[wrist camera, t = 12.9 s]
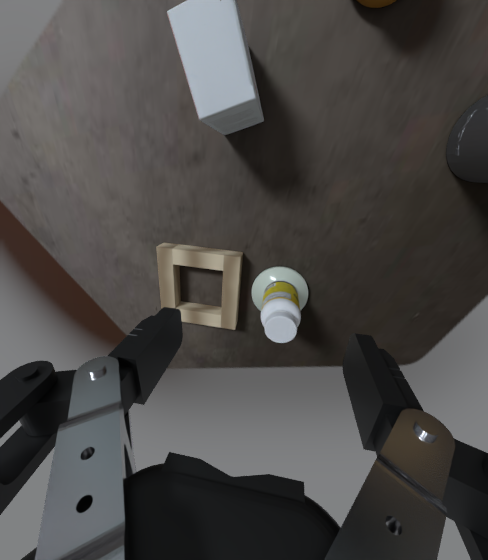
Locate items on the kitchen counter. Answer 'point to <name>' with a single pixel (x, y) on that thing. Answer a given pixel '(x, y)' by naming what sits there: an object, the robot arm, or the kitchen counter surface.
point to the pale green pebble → (279, 274)
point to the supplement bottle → (280, 311)
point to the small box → (217, 63)
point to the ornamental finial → (376, 3)
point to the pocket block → (208, 259)
